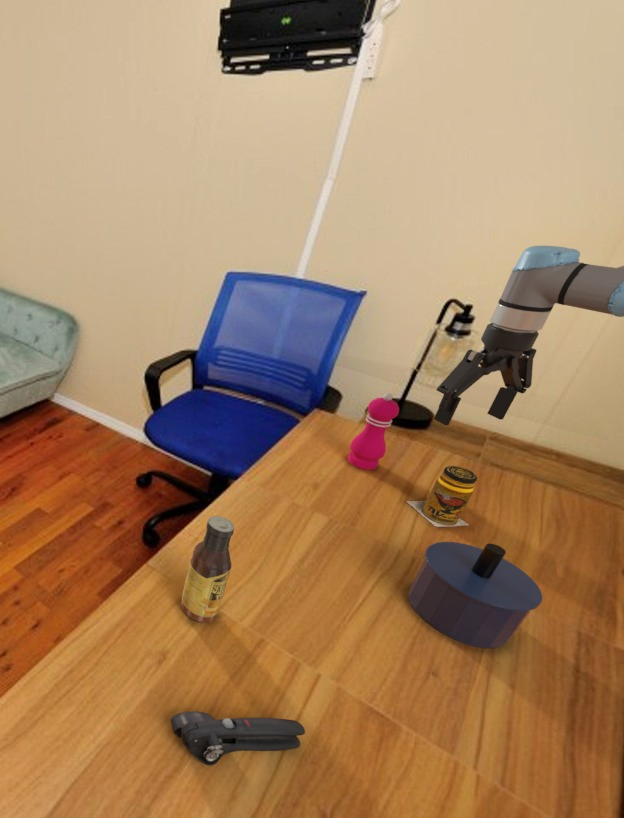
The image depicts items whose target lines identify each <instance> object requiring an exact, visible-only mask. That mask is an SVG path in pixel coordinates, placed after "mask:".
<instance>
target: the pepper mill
mask: <svg viewBox="0 0 624 818" xmlns="http://www.w3.org/2000/svg"><path fill="white" fill-rule="evenodd" d="M367 411H368V413H367V414H366V418H365V421H366V425H365V426H364V428H363V430H362V431H361V432H360V433H359V434H357V435H356V436H355V437H354V438H353V439H352V441H351V442H350V444H349V449H350V452H349V453H348V456H347V461H348V462H349V464H351V465H352V466H354V467H356V468H357V469H361V470H367V471H373V470H375V469H377V467H378V465H379V463H380V459H383V458H384V456H385V455H386V451H387V445H386V440H385V433H386V430H387V428H389V427H391V426H392V423H393V419H395V418H396V417H398V415H399V413H400V407H399V404H398V403H397V402H396V401H395V400H393V395H392V394H391V393H385V394H384V395H383V397H376V398H374V399H372V400H371V401H370V402H369V403H368V405H367Z"/></svg>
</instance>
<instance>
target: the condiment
mask: <svg viewBox="0 0 624 818" xmlns="http://www.w3.org/2000/svg"><path fill="white" fill-rule="evenodd" d="M477 481H478V476H477V474H476V473H474V472H473V471H472V470H470V469H468V468H464V467H462V466H458V465H457V466H456V465H448V466H445V468H444V469H443V471H442V472H441V475H438V476H437V478H436V479H435V483H434V484H433V486H432V488H431V491H430V493H429V495H428V496H427V499H426V500H419V501H418V500H413V501H411V500H408V501H407V500H406V501H405V502H406V503H407V504H408V505H409V506H410V507H412V508H413V509H414V510H415V511H416V512H418V513H419V514H420V515H421V516H422V517H424V519H426V520H427V521H428V522H429V523H431V524H432V525H433V526H434V527H435V528H449V527H450V528H453V527H464V526H465V527H466V526H469V523H467V522H466V521H464V520H463V519H462V518H461V517H462V514H463V513H464V511H465V508H466V506H467V505H468V503H469V501H470V499H471V497H472V496H473V493H474V492H475V487H474V486H475V484H476V482H477Z"/></svg>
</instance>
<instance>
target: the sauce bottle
mask: <svg viewBox="0 0 624 818" xmlns="http://www.w3.org/2000/svg"><path fill="white" fill-rule="evenodd" d="M234 531H235V525H234V523H233V522H232V521H231V520H230V519H228V518H227V517H224V516H221V515H214V516H210V517H208V519H207V522H206V532H205V535H204V537H203V540H201V541H200V542H199V543H197V545H195V546H194V549H193V551H192V555H191V559H190V561H189V566H188V570H187V572H186V576H185V582H184V586H183V589H182V590H183V591H182V594H181V603H180V604H181V609H182V611H183V613H184V614H185V616H187V617H188V618H189V619H191V620H192V621H195V622H197V623H203V624H204V623H205V624H206V623H209V622H212V621H214V620H215V619H216V617H217V615H218V613H219V611H220V608H221V606H222V605H221V603H222V601H223V598H224V594H225V590H226V587H227V584H228V580H229V577H230V575H231V574H230V573H231V571H232V559H231V555H230V549H229V548H230V541H231V538H232V537H233V535H234Z"/></svg>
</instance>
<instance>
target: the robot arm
mask: <svg viewBox="0 0 624 818" xmlns="http://www.w3.org/2000/svg"><path fill="white" fill-rule="evenodd" d="M580 256H581V252H580V251H579V250H578V249H575V248H569V247H565V246H558V245H557V246H555V245H533V246H528V247H527V248H525V249H524V250H523V251H522V253H521V254H520V256H519V258H518V260H517V261H516V263H515V264H514V265H515V266H514V267H513V268H512V269H511V272H510V275H509V278H508V279H507V282H506V284H505V286H504V289H503V291H502V293H501V296H500V298H499V300H498V302H497V304H496V306H495V308H494V311H493V312H492V314H491V317H490V318H489V321H490V322H491V323H489V324H487V325H486V327H485V329H484V331H483V333H482V335H481V338H480V341H481V342H482V343H483V345H484V346H483V347H482V349H481V350H479V351H476V350H475V349H474V350H473V349H468V350H467V351H466V352H465V355H464V356H463V358H462V359H461V360H460V362H458V364H457V365H456V367H454V369H453V370H451V372H450V373H449V374H448V375H447V377H445V378H444V380H443V381H442V382H441V383H440V384H439V386H437V387H436V391H437V392H439V393H440V394H443V396H442V398H441V400H440V402H439V404H438V408H437V411H436V412H435V415H434V417H433V420H434V421H437V422H438V423H440V424H442V425H444V426H449V425H450V423H451V421H452V419H453V417H454V415H455V413H456V410H457V408H458V406H459V404H460V402H461V401H462V397H460V396H461V395H462V394H463V393H464V392H466V391H467V390H468V389H470V388H471V387H472V386H473V385H474V384H476V382H478V381H479V380H480V379H481V378H482V377H484V376H488V375H490V374H491V373H495V372H500V374H501V375H500V376H501V377H502V380H503V381H502V382H503V384H504V386H501V387H500V388H499V390H498V391H497V393H496V395H495V397H494V400H493V401H492V403H491V405H490V407H489V409H488V411H487V415H489V416H492V417H494V418H496V419H497V420H504V418H505V416H506V415H507V413H508V411H509V409H510V407H511V405H512V403H513V401H514V399H515V398H516V396H517V394H518V393H519V394H525V393H526V392H527V390H528V389H529V388H531V387H532V383H533V382H532V380H533V369H534V368H533V366H534V358H535V356H536V353H537V350H538V349H536V348H534V347H533V346H534V344H536V343H535V342H536V340H537V338H538V337H539V331H541V330H543V328H544V326H545V324H546V322H547V320H548V317H549V316H550V314H551V312H552V310H553V308H554V306H555V304H558V305H561V306H567V307H572V308H578V309H582V310H588V311H592V312H596V313H597V312H598V313H602V314H607V315H612V316H615V317H618V318H624V265H621V266H618V267H617V266H616V267H613V266H605V265H596V264H595V265H594V264H590V263H584V262H581V261H580ZM479 365H480V366H479Z"/></svg>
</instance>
